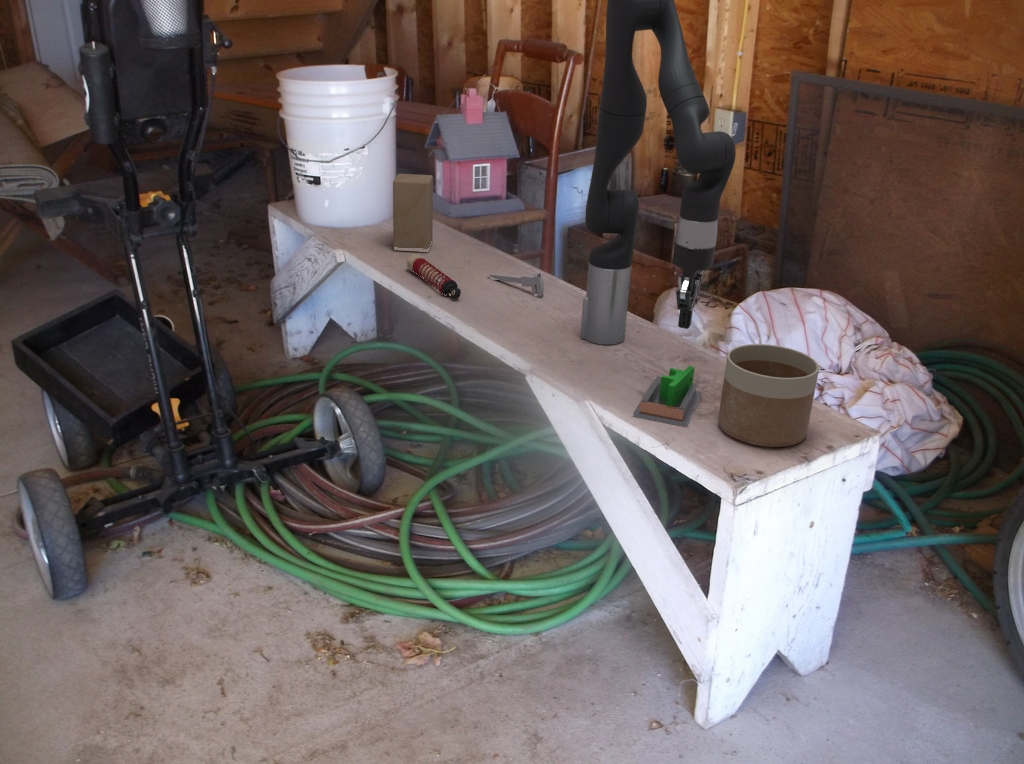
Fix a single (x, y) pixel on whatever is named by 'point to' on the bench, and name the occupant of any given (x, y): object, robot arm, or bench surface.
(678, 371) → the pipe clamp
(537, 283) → the caliper
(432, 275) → the shock absorber
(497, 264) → the bench surface
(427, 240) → the wooden block
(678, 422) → the steel channel
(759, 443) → the planter
